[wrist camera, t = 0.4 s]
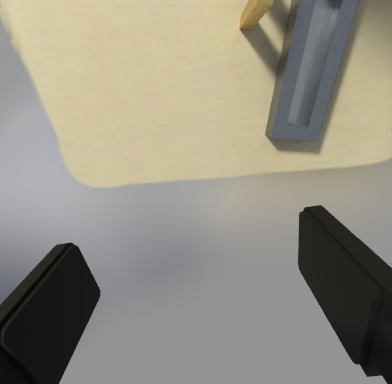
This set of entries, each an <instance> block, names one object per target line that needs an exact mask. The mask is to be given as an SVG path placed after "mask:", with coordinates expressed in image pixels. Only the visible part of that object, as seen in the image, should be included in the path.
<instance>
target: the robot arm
mask: <svg viewBox="0 0 392 384" xmlns="http://www.w3.org/2000/svg"><path fill="white" fill-rule="evenodd" d="M298 266H299V270H300V272H301V274H302V276H303V277H304V279H305V281H306V282H307V284H308V286H309V288H310V289H311V291H312V293H313V295H314V296H315V298H316V300H317V302H318V303H319V305H320V307H321V308H322V310H323V312H324V314H325V315H326V317H327V319H328V321H329V322H330V324H331V326H332V327H333V329H334V331H335V332H336V334H337V336H338V338H339V339H340V341H341V343H342V345H343V347H344V348H345V350H346V352H347V353H348V355H349V357H350V358H351V360H352V361H353V362H354V363H355V364H360V366H361V367H362V369H363V371H364V372H365V374H366V375H367V377H368V376H380V375H382V376H383V377H384V379H385V381H386V382H387V384H392V268H391V267H390V266H389V265H387V264H386V263H385V262H384V261H383V260H382V259H381V258H380V257H379V256H378V255H376V254H375V253H374V252H373V251H372V250H371V249H370V248H369V247H368V246H367V245H365V244H364V243H363V242H362V241H361V240H360V239H359V238H357V237H356V236H355V235H354V234H353V233H351V232H350V231H349V230H348V229H347V228H346V227H345V226H344V225H343V224H342V223H340V222H339V221H338V220H337V219H336V218H335V217H334V216H333V215H331V214H330V213H329V212H328V211H327V210H326V209H325V208H324V207H323V206H321V205H318V206H312V207H305V208H304V210H303V212H300V214H299V249H298ZM99 298H100V289H99V287H98V285H97V283H96V281H95V279H94V277H93V275H92V273H91V271H90V269H89V267H88V265H87V263H86V261H85V259H84V257H83V255H82V253H81V251H80V249H79V248H78V246H75V245H74V244H73V243H65V244H59V245H56V246H55V247H54V248H53V249H52V250H51V251H50V252H49V253H48V254H47V255H46V256H45V257H44V259H43V260H42V261H41V262H40V263H39V264H38V265H37V266H36V267H35V268H34V269H33V270H32V271H31V272H30V274H29V275H28V276H27V277H26V278H25V279H24V280H23V281H22V282H21V283H20V284H19V285H18V286H17V288H16V289H15V290H14V291H13V292H12V293H11V294H10V295H9V296H8V297H7V298H6V299H5V300H4V302H3V303H2V304H1V305H0V384H59V382H60V380H61V378H62V376H63V374H64V372H65V370H66V367H67V365H68V363H69V361H70V359H71V357H72V355H73V353H74V351H75V349H76V346H77V344H78V342H79V340H80V338H81V336H82V334H83V332H84V330H85V327H86V325H87V323H88V321H89V319H90V317H91V315H92V313H93V310H94V308H95V307H96V304H97V302H98V300H99Z"/></svg>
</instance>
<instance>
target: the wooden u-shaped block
mask: <svg viewBox="0 0 392 384" xmlns="http://www.w3.org/2000/svg"><path fill="white" fill-rule="evenodd" d="M273 1H274V0H249V1H248V3H247V5H246V7H245V9H244V10H243V12H242V14H241V21H240V29H246V30H252V28H253V27H254V26H255V25H256V24H257V23H258V21H259V20H260V19H261V18H262V17H263V16H264V14H265V13H266V12H267V11H268V10H269V9H270V7H271V6H272V5H273Z"/></svg>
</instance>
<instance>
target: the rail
mask: <svg viewBox="0 0 392 384" xmlns="http://www.w3.org/2000/svg"><path fill="white" fill-rule="evenodd" d="M358 2H359V0H292V1H291V6H290V12H289V17H288V22H287V27H286V32H285V37H284V42H283V47H282V52H281V57H280V62H279V67H278V72H277V77H276V82H275V88H274V93H273V98H272V103H271V108H270V113H269V118H268V123H267V128H266V133H265V135H266V136H268V137H270V138H274V139H289V140H303V141H317V139H318V136H319V132H320V129H321V126H322V122H323V119H324V116H325V112H326V109H327V106H328V102H329V99H330V95H331V92H332V89H333V85H334V82H335V79H336V75H337V72H338V69H339V65H340V62H341V59H342V55H343V52H344V49H345V45H346V42H347V39H348V35H349V32H350V29H351V25H352V22H353V19H354V15H355V12H356V8H357V5H358Z"/></svg>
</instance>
